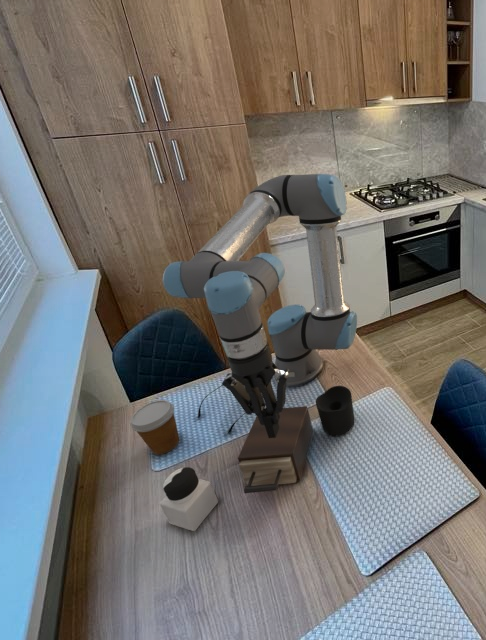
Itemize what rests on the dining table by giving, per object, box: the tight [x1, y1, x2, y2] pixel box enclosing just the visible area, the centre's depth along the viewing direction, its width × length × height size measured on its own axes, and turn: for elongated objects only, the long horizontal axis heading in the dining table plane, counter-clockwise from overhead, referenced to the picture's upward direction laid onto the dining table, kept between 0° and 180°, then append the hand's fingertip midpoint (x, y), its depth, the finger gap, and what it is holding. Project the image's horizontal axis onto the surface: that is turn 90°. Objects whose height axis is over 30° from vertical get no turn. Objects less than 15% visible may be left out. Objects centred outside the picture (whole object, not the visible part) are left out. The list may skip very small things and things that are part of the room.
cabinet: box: [237, 405, 314, 482], centre depth 103 cm, size 15×13×10 cm
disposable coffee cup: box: [129, 399, 180, 455], centre depth 107 cm, size 10×10×12 cm
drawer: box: [239, 456, 297, 494], centre depth 99 cm, size 18×11×8 cm, turn 4°
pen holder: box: [315, 385, 355, 438], centre depth 112 cm, size 9×9×10 cm
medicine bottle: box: [159, 466, 219, 532], centre depth 90 cm, size 7×7×12 cm
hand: (274, 432), depth 89 cm, fingers closed
